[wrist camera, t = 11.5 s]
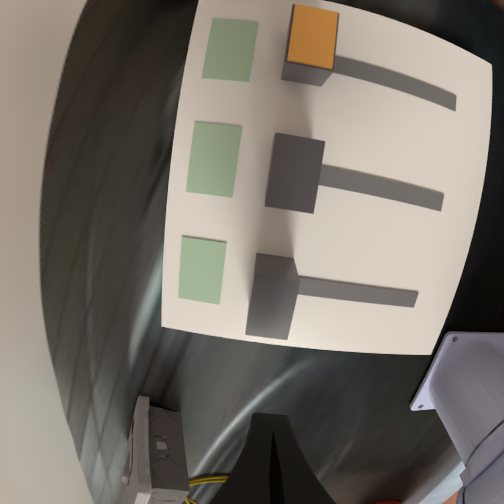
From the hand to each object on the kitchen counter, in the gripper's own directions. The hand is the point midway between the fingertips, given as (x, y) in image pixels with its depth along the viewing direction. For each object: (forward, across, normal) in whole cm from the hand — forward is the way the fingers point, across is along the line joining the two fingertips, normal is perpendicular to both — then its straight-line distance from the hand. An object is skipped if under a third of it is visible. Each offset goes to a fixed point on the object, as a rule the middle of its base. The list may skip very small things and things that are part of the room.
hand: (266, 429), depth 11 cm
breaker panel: (+9, -2, -10) cm, 14 cm away
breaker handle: (+7, +1, -15) cm, 17 cm away
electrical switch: (+10, +7, +14) cm, 18 cm away
